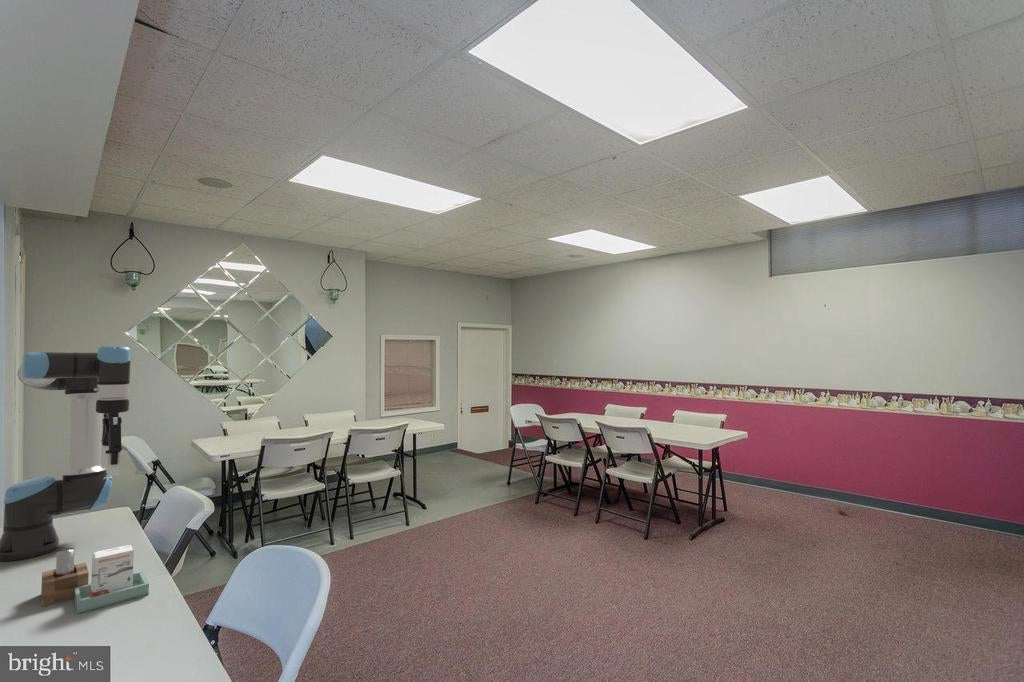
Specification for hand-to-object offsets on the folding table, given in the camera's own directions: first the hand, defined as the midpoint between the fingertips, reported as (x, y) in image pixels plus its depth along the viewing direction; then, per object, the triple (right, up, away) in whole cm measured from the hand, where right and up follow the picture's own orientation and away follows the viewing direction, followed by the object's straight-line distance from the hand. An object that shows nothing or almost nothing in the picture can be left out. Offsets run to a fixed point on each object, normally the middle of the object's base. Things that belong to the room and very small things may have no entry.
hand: (110, 471), depth 141 cm
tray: (+8, -32, -10) cm, 34 cm away
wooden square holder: (-5, -31, -9) cm, 33 cm away
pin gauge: (-5, -31, -9) cm, 33 cm away
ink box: (+8, -31, -9) cm, 34 cm away
